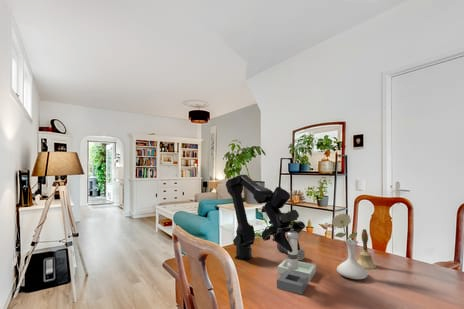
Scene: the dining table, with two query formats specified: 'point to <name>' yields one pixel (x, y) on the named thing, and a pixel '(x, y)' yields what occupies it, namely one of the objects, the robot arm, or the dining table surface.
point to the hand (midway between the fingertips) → (295, 250)
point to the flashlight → (300, 252)
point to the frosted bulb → (292, 255)
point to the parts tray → (299, 269)
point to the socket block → (292, 282)
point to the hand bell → (365, 254)
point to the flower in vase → (350, 265)
